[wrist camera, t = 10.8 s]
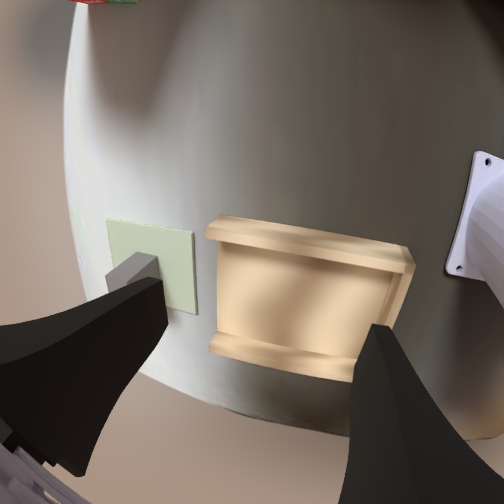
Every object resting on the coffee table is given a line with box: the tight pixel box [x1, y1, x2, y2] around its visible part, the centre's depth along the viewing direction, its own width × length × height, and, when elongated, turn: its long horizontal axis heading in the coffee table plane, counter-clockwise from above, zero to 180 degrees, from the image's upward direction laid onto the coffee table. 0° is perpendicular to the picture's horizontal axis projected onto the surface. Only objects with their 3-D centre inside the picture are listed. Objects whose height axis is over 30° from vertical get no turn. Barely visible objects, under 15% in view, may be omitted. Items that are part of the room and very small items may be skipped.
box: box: [205, 215, 416, 382], centre depth 18 cm, size 12×10×2 cm
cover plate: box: [105, 218, 197, 314], centre depth 21 cm, size 8×7×5 cm
